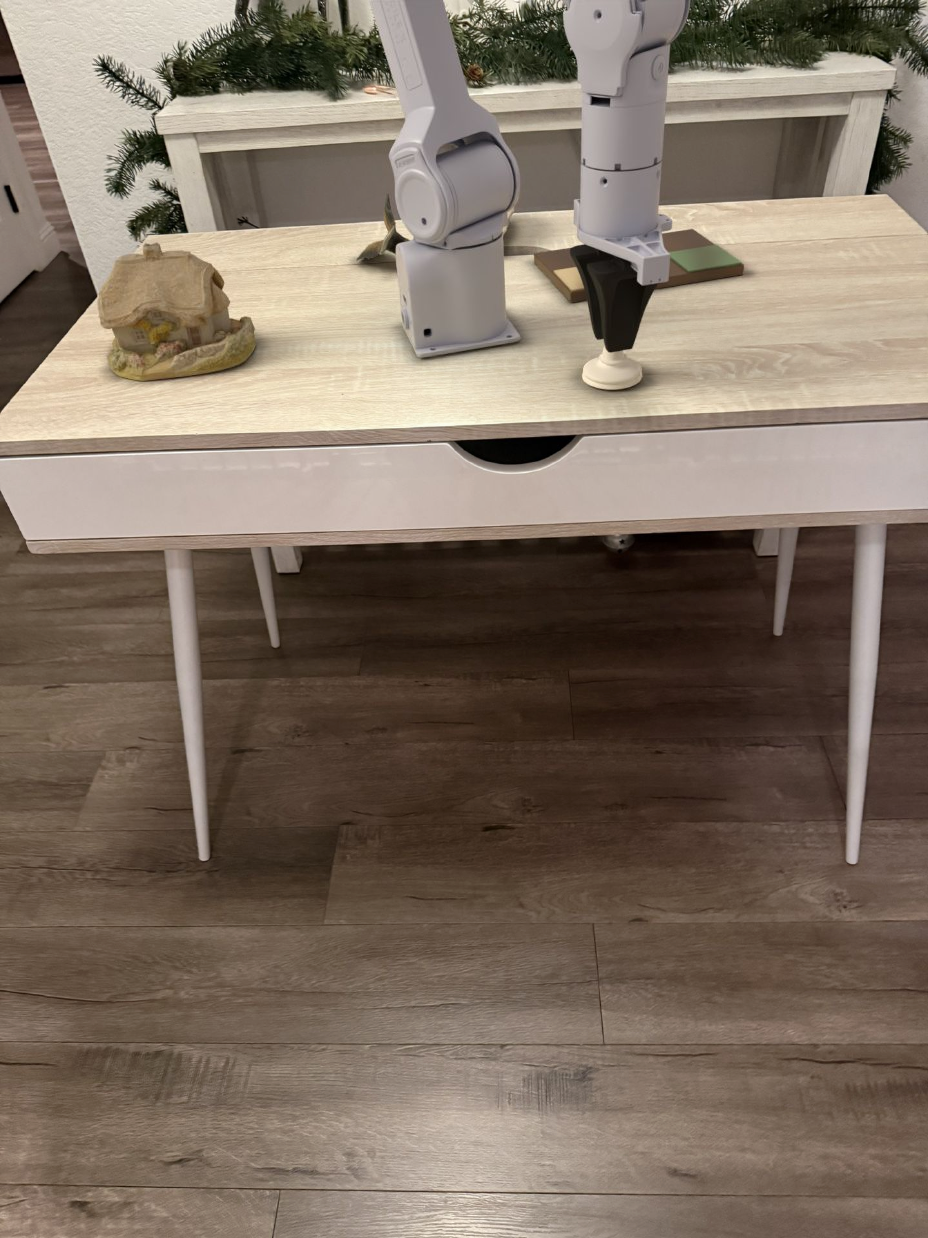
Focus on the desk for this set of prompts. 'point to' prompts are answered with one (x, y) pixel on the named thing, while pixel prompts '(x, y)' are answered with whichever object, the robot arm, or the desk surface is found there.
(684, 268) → the board
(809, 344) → the desk surface
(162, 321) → the ceramic model
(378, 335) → the desk surface
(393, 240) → the brown pointed piece
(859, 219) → the desk surface
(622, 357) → the chess piece
